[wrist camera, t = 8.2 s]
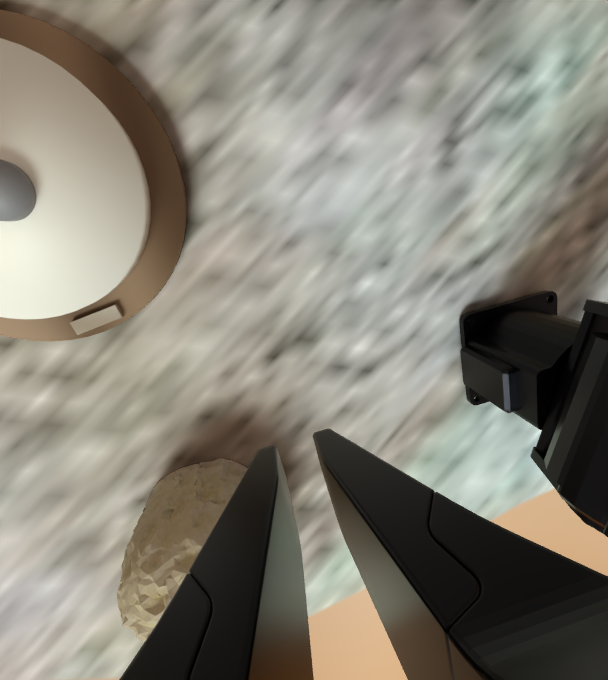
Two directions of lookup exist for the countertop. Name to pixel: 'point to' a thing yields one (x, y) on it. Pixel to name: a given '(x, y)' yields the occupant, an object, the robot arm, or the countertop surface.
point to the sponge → (172, 538)
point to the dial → (63, 191)
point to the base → (158, 170)
